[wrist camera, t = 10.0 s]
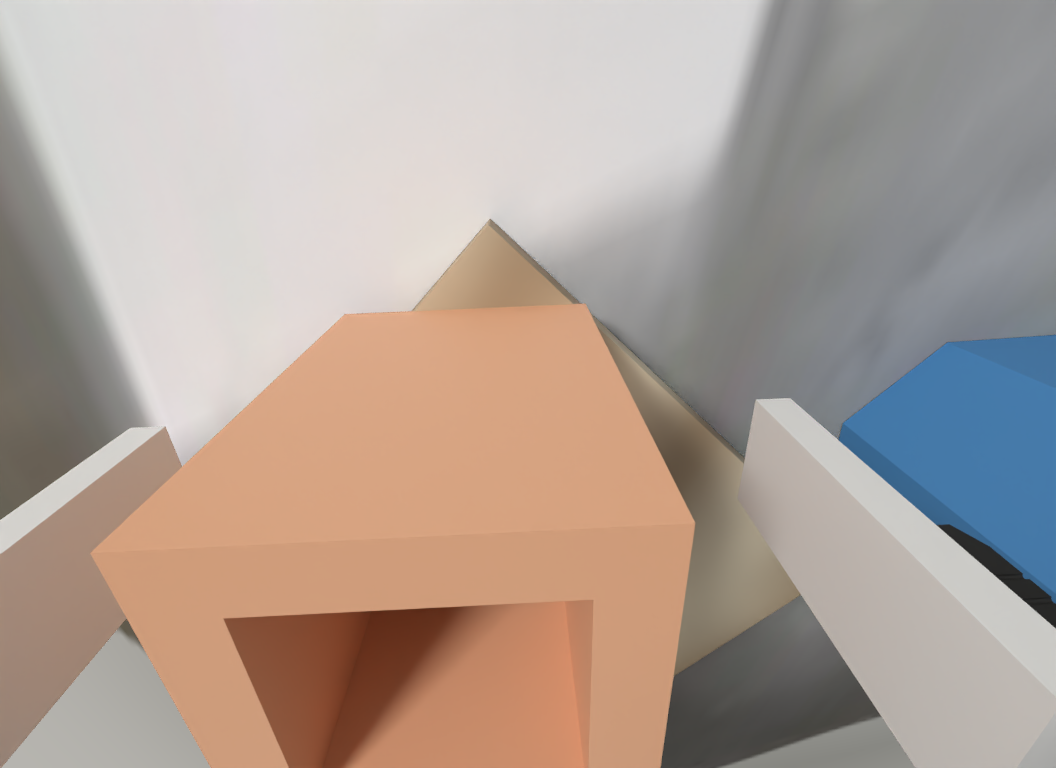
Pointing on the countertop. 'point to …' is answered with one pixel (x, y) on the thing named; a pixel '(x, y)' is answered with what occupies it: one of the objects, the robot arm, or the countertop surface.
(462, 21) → the countertop surface
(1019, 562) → the water bottle
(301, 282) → the countertop surface
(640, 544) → the link
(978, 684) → the robot arm
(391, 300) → the countertop surface
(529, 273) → the board
